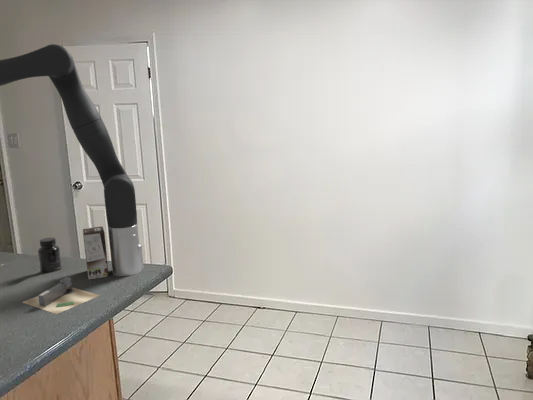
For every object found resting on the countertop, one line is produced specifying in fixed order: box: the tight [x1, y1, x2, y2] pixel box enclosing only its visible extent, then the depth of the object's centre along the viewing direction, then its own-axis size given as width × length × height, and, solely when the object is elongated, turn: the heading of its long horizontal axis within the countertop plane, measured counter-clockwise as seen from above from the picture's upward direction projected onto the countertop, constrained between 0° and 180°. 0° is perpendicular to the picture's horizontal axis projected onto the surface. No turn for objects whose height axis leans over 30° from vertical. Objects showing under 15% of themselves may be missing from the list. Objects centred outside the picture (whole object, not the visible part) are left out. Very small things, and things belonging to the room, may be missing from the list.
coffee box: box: [82, 226, 110, 280], centre depth 154 cm, size 9×6×16 cm
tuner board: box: [22, 286, 101, 315], centre depth 135 cm, size 14×16×2 cm
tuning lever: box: [37, 276, 73, 306], centre depth 135 cm, size 12×3×4 cm, turn 167°
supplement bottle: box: [37, 237, 63, 273], centre depth 160 cm, size 7×7×12 cm
